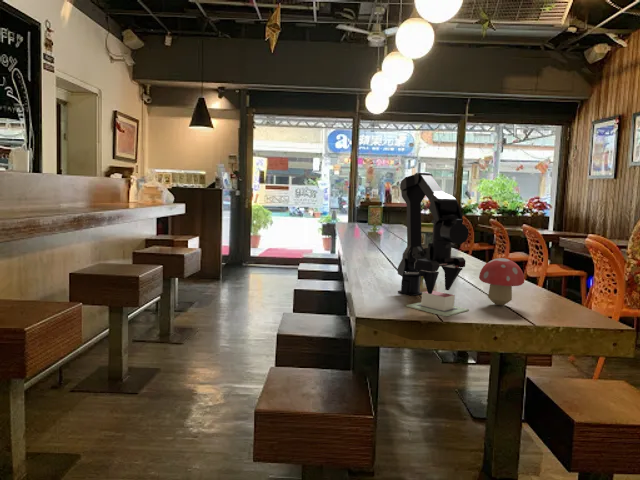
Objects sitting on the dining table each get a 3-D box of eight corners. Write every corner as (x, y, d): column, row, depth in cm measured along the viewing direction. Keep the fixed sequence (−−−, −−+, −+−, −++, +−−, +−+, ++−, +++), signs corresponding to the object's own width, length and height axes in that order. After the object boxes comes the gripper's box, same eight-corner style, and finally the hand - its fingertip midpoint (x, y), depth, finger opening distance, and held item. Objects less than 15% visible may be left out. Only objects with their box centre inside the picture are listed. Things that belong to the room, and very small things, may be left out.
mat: (429, 301, 159) (429, 299, 159) (468, 310, 148) (468, 308, 148) (406, 306, 150) (406, 304, 150) (446, 316, 140) (446, 314, 140)
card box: (453, 308, 148) (454, 295, 148) (444, 310, 145) (445, 297, 144) (430, 303, 154) (431, 290, 154) (421, 305, 150) (422, 292, 150)
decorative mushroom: (475, 307, 154) (479, 259, 152) (478, 298, 166) (482, 254, 164) (522, 312, 149) (526, 263, 147) (521, 303, 161) (525, 257, 160)
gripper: (436, 236, 159) (433, 284, 161) (400, 238, 147) (397, 290, 148) (468, 239, 151) (464, 290, 153) (432, 242, 138) (429, 297, 140)
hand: (438, 291), depth 149 cm, fingers open, 9 cm apart
